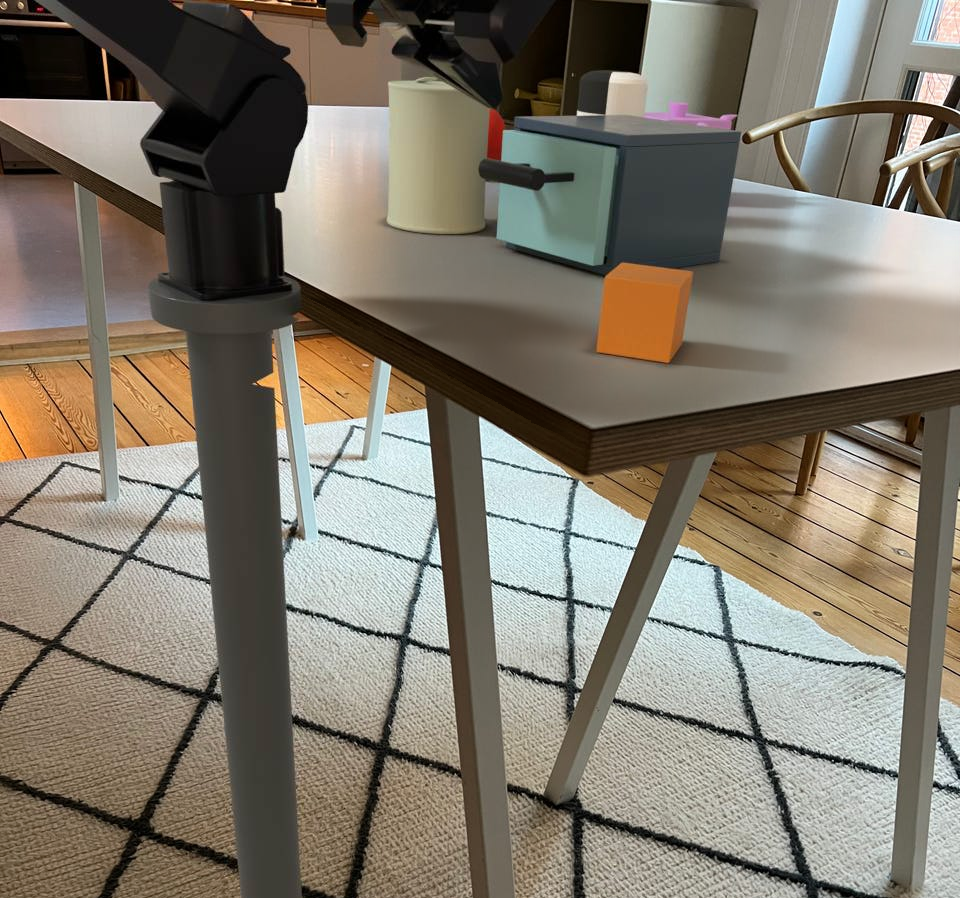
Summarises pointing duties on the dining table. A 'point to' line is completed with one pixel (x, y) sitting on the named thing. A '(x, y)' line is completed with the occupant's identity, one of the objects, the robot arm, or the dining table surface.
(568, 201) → the drawer
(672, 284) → the orange rectangular prism
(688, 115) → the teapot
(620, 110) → the container
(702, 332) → the dining table surface
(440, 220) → the can
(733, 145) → the small storage cabinet
